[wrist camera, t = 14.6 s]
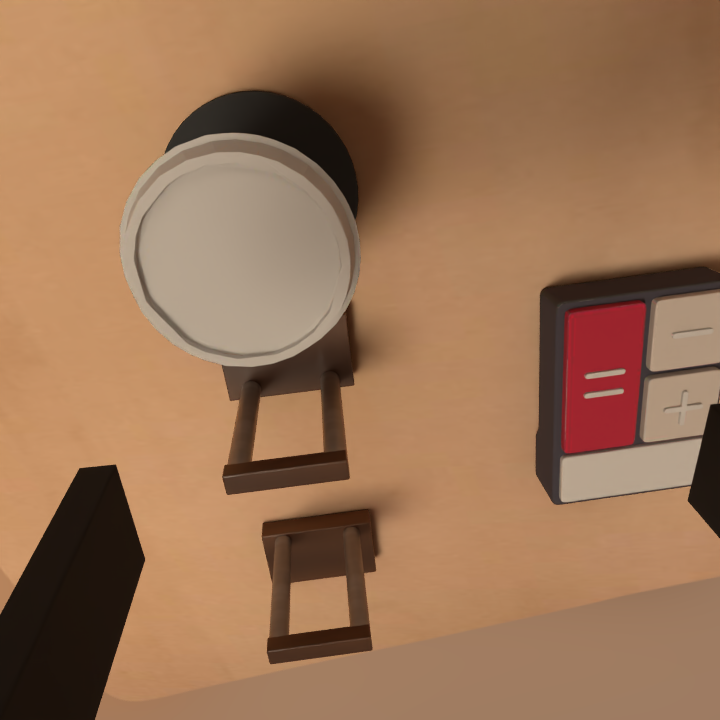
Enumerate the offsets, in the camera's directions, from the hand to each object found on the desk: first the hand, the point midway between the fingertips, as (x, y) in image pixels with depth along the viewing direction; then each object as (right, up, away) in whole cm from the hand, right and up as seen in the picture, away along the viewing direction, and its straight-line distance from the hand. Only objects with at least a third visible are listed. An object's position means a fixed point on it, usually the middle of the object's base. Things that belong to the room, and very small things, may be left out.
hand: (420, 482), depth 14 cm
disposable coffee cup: (-7, +12, +20) cm, 25 cm away
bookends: (-5, -4, +29) cm, 30 cm away
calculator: (+16, +2, +28) cm, 33 cm away
